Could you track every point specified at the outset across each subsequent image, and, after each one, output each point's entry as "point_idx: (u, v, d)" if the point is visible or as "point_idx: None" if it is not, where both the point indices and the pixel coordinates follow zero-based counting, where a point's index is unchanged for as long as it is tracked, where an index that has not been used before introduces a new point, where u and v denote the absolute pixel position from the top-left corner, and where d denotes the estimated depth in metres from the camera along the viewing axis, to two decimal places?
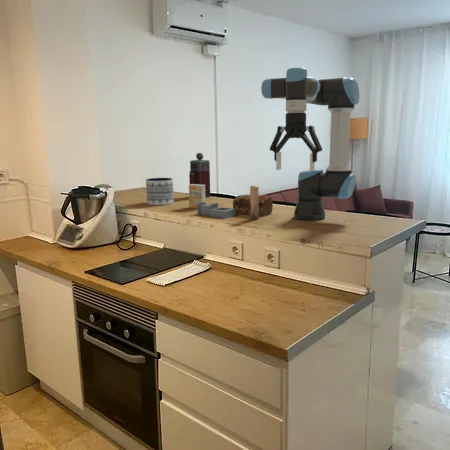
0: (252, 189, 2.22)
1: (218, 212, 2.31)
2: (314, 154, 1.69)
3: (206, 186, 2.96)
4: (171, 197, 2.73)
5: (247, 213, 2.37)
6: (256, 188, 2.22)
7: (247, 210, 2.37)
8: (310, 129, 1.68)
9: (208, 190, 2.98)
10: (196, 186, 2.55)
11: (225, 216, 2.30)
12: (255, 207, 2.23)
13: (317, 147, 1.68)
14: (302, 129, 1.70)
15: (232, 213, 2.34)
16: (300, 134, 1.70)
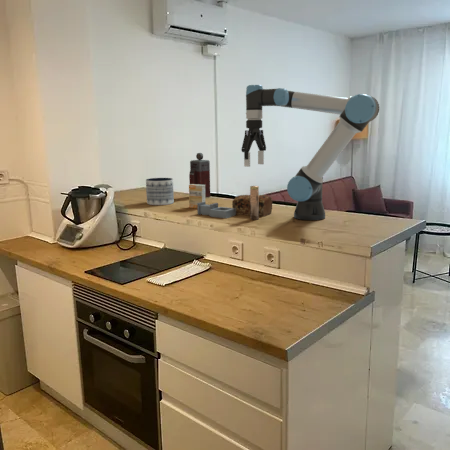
0: (252, 189, 2.22)
1: (218, 212, 2.31)
2: None
3: (206, 186, 2.96)
4: (171, 197, 2.73)
5: (247, 213, 2.37)
6: (256, 188, 2.22)
7: (247, 210, 2.37)
8: None
9: (208, 190, 2.98)
10: (196, 186, 2.55)
11: (225, 216, 2.30)
12: (255, 207, 2.23)
13: None
14: None
15: (232, 213, 2.34)
16: None
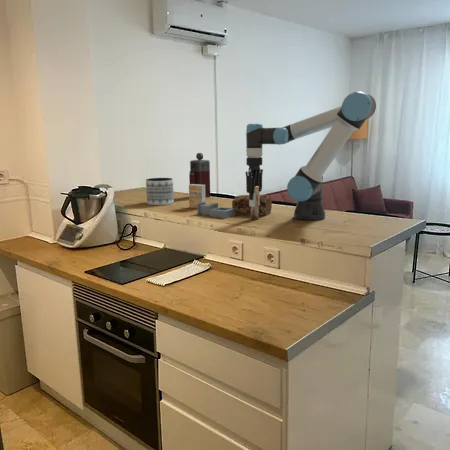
0: None
1: (218, 212, 2.31)
2: None
3: (206, 186, 2.96)
4: (171, 197, 2.73)
5: (248, 213, 2.37)
6: (256, 188, 2.22)
7: (248, 210, 2.36)
8: None
9: (208, 190, 2.98)
10: (196, 186, 2.55)
11: (225, 216, 2.30)
12: (255, 207, 2.23)
13: None
14: None
15: (232, 213, 2.34)
16: None
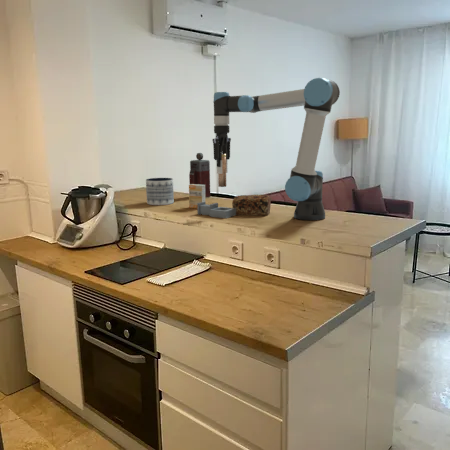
0: None
1: (218, 212, 2.31)
2: None
3: (206, 186, 2.96)
4: (171, 197, 2.73)
5: (249, 213, 2.37)
6: (223, 155, 2.28)
7: (250, 211, 2.36)
8: None
9: (208, 190, 2.98)
10: (196, 186, 2.55)
11: (225, 216, 2.30)
12: (222, 174, 2.30)
13: None
14: None
15: (232, 213, 2.34)
16: None
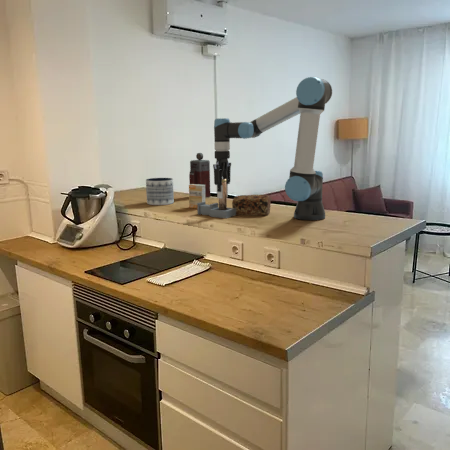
0: None
1: (218, 212, 2.31)
2: None
3: (206, 186, 2.96)
4: (171, 197, 2.73)
5: (249, 213, 2.37)
6: (224, 181, 2.31)
7: (249, 211, 2.36)
8: None
9: (208, 190, 2.98)
10: (196, 186, 2.55)
11: (225, 216, 2.30)
12: (223, 199, 2.32)
13: None
14: None
15: (232, 213, 2.34)
16: None
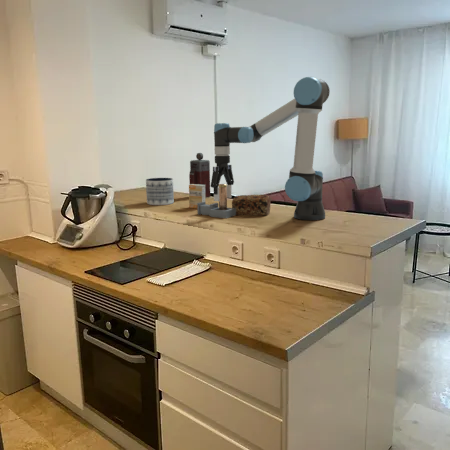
0: (220, 187, 2.31)
1: (218, 212, 2.31)
2: None
3: (206, 186, 2.96)
4: (171, 197, 2.73)
5: (249, 213, 2.36)
6: (224, 186, 2.31)
7: (249, 211, 2.36)
8: None
9: (208, 190, 2.98)
10: (196, 186, 2.55)
11: (225, 216, 2.30)
12: (223, 204, 2.33)
13: None
14: None
15: (232, 213, 2.34)
16: None
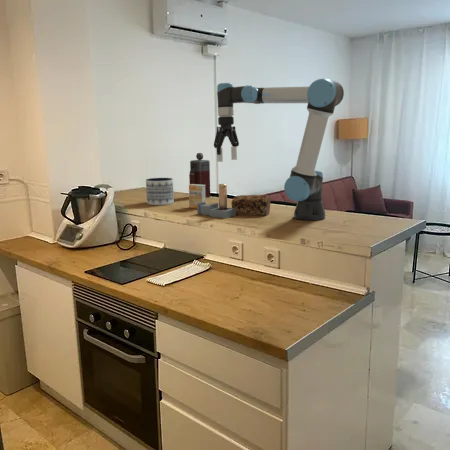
0: (220, 187, 2.31)
1: (218, 212, 2.31)
2: None
3: (206, 186, 2.96)
4: (171, 197, 2.73)
5: (248, 213, 2.36)
6: (224, 186, 2.31)
7: (248, 211, 2.36)
8: None
9: (208, 190, 2.98)
10: (196, 186, 2.55)
11: (225, 216, 2.30)
12: (223, 204, 2.33)
13: None
14: None
15: (232, 213, 2.34)
16: None
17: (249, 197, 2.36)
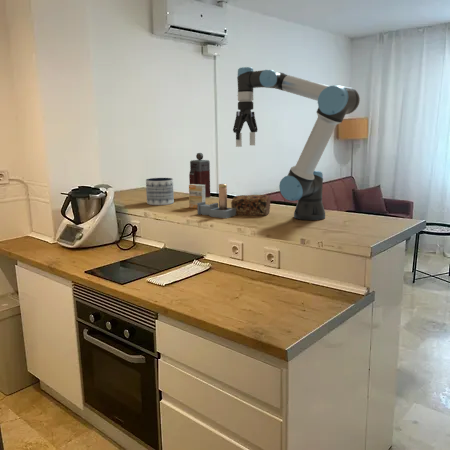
0: (220, 187, 2.31)
1: (218, 212, 2.31)
2: None
3: (206, 186, 2.96)
4: (171, 197, 2.73)
5: (248, 213, 2.36)
6: (224, 186, 2.31)
7: (248, 211, 2.36)
8: None
9: (208, 190, 2.98)
10: (196, 186, 2.55)
11: (225, 216, 2.30)
12: (223, 204, 2.33)
13: None
14: None
15: (232, 213, 2.34)
16: None
17: (249, 197, 2.36)
